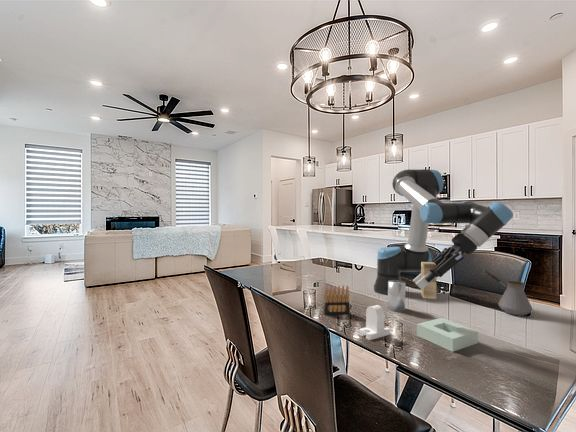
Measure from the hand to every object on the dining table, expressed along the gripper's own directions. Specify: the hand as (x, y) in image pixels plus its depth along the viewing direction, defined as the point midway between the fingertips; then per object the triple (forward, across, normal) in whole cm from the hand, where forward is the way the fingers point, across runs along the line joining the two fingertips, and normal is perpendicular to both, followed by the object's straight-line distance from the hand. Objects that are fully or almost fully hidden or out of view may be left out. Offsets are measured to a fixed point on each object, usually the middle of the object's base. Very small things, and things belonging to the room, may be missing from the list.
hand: (417, 284), depth 104 cm
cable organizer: (+23, +5, +2) cm, 23 cm away
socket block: (+6, +4, +18) cm, 19 cm away
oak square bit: (0, 0, +6) cm, 6 cm away
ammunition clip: (+32, -12, -8) cm, 36 cm away
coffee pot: (-19, -34, +43) cm, 58 cm away
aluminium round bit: (+14, -24, +9) cm, 29 cm away
